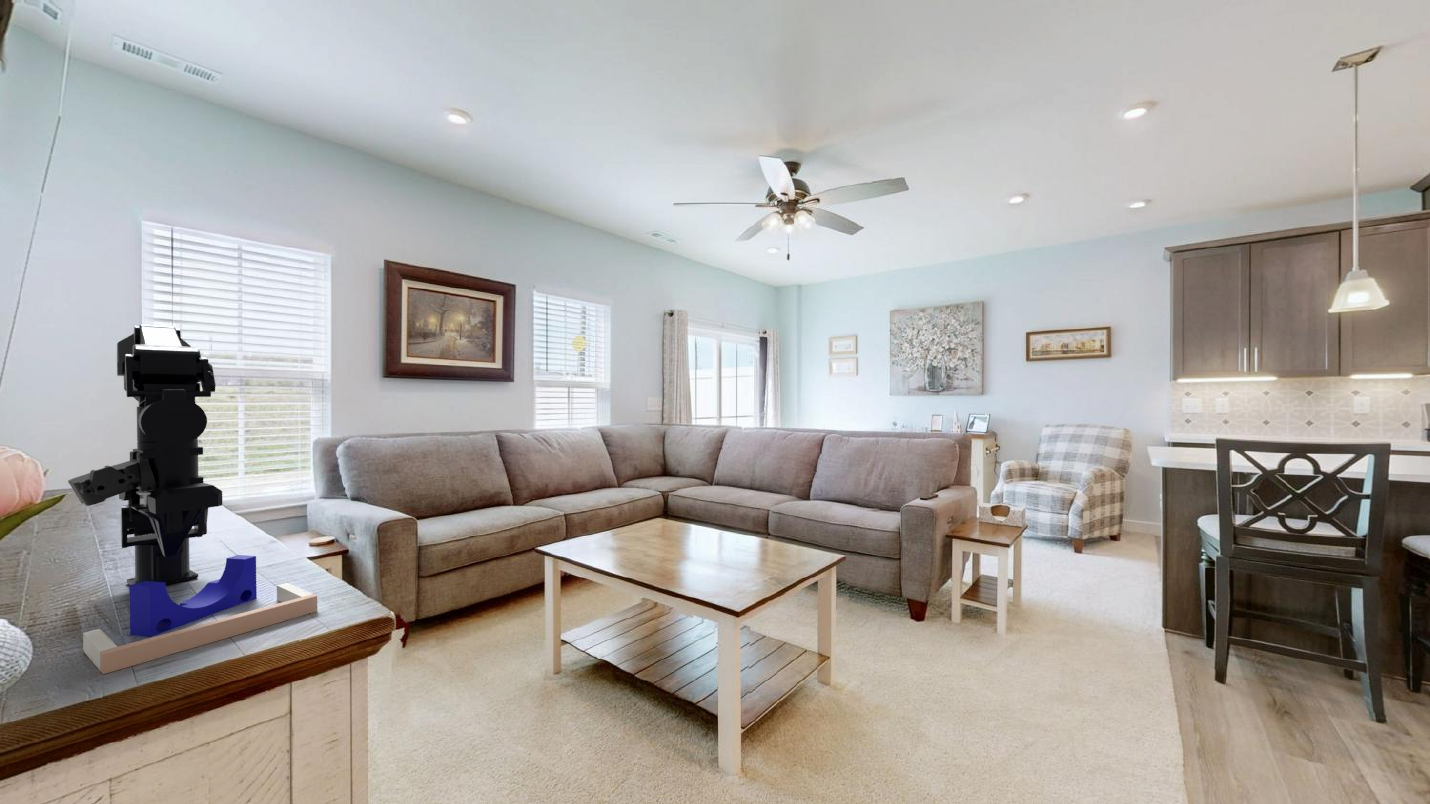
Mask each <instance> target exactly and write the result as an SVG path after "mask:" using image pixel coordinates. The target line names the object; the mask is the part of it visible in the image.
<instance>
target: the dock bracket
mask: <svg viewBox="0 0 1430 804" xmlns="http://www.w3.org/2000/svg"><path fill="white" fill-rule="evenodd" d="M276 601H278V603H275V604H272V605H271V604H270V605H267V606H264V607H259V608H256V609H253V610H252V609H251V610H248V611H245V612H241V613H237V614H233V615H231V616H226V617H223V618H219V619H215V620H212V621H208V622H204V623H200V624H197V625H193V626H190V627H186V628H183V629H179V630H174V631H172V632H165V633H162V634H158V635H155V636H152V637H147V638H144V639H142V640H136V641H133V642H130V643H126V644H122V645H119V646H118V645H117V644H115V642H114V641H113V640H112V639H111V638H110V637H109V636H108V635H107V634H106V633H104V631H102V630H101V629H100V628H97V629H93V630H90V631H85V632H83V633H82V639H83V640H82V641H83V644H82V645H83V647H82V648H83V649H82V651H83V652H84V654H85V655H86V656H87V657H88V658H89V660H90V661H91V662H92V663H93V664H94V666H95V667H97V668H98V670H99V671H100V672H101V673H102V674H103V675H106V674H109V673H112V672H115V671H119V670H122V669H126V668H130V667H133V666H136V665H139V664H143V663H147V662H151V661H153V660H157V659H160V658H164V657H167V656H170V655H174V654H177V653H180V652H184V651H187V650H191V649H194V648H197V647H201V646H204V645H209V644H211V643H214V642H217V641H221V640H225V639H228V638H231V637H235V636H238V635H242V634H245V633H249V632H251V631H255V630H258V629H261V628H265V627H269V626H272V625H276V624H278V623H281V622H286V621H289V620H293V619H296V618H299V617H302V616H306V615H310V614H312V613H316V612H318V595H316V594H314V593H312V592H310V591H307V590H305V589H303V588H300V587H298V586H296V585H293V584H291V583H289V582H286V583H281V584H277V585H276ZM279 602H280V603H279ZM309 613H310V614H309Z"/></svg>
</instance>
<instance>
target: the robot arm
mask: <svg viewBox="0 0 1430 804" xmlns="http://www.w3.org/2000/svg"><path fill="white" fill-rule="evenodd" d="M181 337H182V334H181V328H176V327H175V326H169V325H157V324H156V325H154V324H139V325H134V326H133V333H132V334H131V335H128V336H127V337H125V338H123V339H121V340H120V341H118V342H117V343H116V375H117V377H122V376H123V389H124V391H125V392H126V398H134V399H135V400H136V401H137V402H138V406H136V448H132V450H131V451H129V460H128V461H124V462H121V463H118V464H114V465H111V466H110V465H104V467H102V468H99V469H92V470H90V471H89V473H86V474H82V475H79V476H76V477H73V478H71V479H68V480H67V482H68V485H70V487H71V488H72V490H73V492H74V494H75V495H76V497H77V498H78V500H79V502H80V504H84V505H85V506H86V507H91V506H93V505H97V504H100V503H104V502H105V501H106V500H107V499H109V498H112V497H115V496H118V499H119V500H121V501H127V504H123V505H121V506H120V544H121V549H126V548H130V547H131V548H132V547H134V577H132V578H127V579H126V584H128V585H132V584H136V583H139V582H143V581H153V582H165V584H166V585H170V584H174V583H179V582H184V581H188V580H194V579H197V578H199V573H197V572H195V571H193V570H191V569H190V539H191V538H192V539H193V538H202V537H203V536H205V535H208V534H207V533H208V516H209V515H208V514H209V508H215V507H221V506H223V490H221V489H220V488H218V487H216V486H215V485H213V484H209V483H206V482H204V477H203V476H199V456H202V455H204V447H203V446H199V437H200V436H202V434H203V433H204V431H205V429H206V428H207V423H208V417H207V415H206V413H205V411H204V409H203V408H202V407H201V406H200V405H199V404H197V403H196V398H211V397H212V392H213V393H215V392H216V386H217V385H216V380H215V379H216V378H215V374H214V369H213V365H212V364H211V363H209V359H208V358H207V357H206V356H202V355H201V350H199V349H198V348H197V347H193V346H191V344H189V343H188V342H186V341H185V340H184V339H183V338H181ZM129 535H133V536H129ZM128 536H129V537H128Z"/></svg>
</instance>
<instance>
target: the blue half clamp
mask: <svg viewBox="0 0 1430 804" xmlns="http://www.w3.org/2000/svg"><path fill="white" fill-rule="evenodd" d="M225 560H226V561H225V567H224V570H223V573H222V574H221V577H220V578H218V579H215V580H212V581H209V582H207V584H206V585H205V586H204V587H203V588H202V589H200V591H199V592H197V593H196V594H195V595H193V596H191V597H190V598H188V599H186V600H184V601H182V602H179V603H176V602H175V601H174V600H173V599H172V598H171V597H170V594H169V593H168V590H167V586H166V585H167V584H165V582H153V581H143V582H139V583H136V584H132V585H129V584H128V585H129V586H128V587H129V589H128V590H129V636H133V637H146V638H152V637H155V636H159V635H162V634H164V633H167V632H169V631H171V630H174V629H176V628H177V629H178V628H180V627H182V626H185V625H187V624H188V625H189V624H190V623H193V622H196V621H199V620H202V619H204V618H207V617H209V616H213V615H215V614H217V613H221V612H223V611H226V610H228V609H231V608H234V607H237V606H240V605H242V604H245V603H248V602H251V601H253V600H256V599H257V596H258V595H257V593H258V592H257V556H256V555H243V554H237V555H234V556H229V557H226V559H225Z"/></svg>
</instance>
